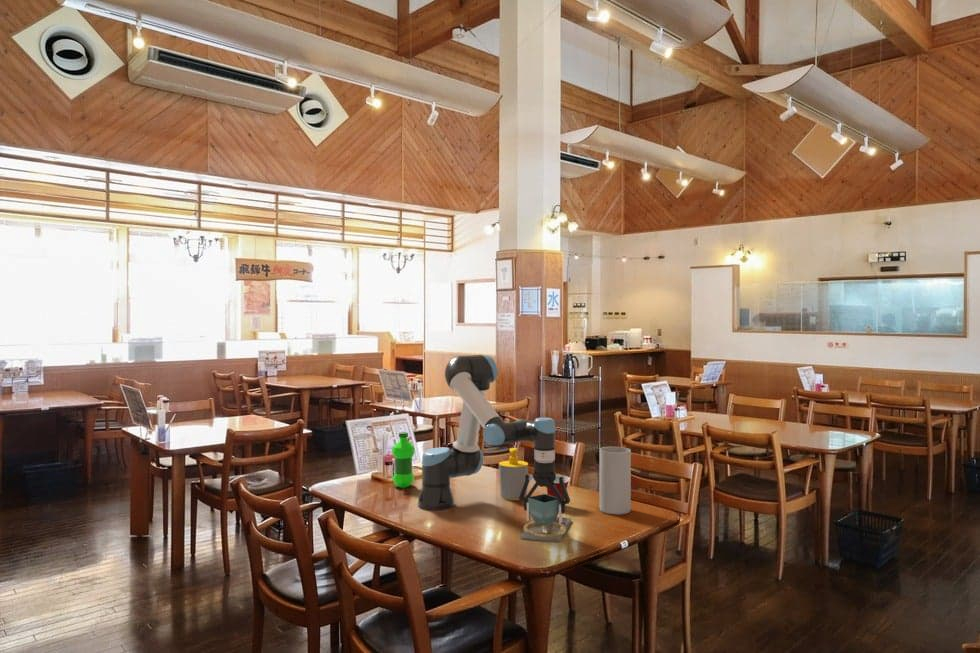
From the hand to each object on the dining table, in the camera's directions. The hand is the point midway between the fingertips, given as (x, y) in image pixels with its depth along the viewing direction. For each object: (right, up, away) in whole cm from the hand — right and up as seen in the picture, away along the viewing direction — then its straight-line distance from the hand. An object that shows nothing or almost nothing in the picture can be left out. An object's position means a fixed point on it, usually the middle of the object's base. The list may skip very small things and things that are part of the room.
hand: (544, 520), depth 234 cm
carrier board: (+1, -5, +4) cm, 6 cm away
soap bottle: (-9, -4, +50) cm, 51 cm away
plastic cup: (+8, -5, +35) cm, 36 cm away
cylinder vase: (+31, -5, +28) cm, 42 cm away
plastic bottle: (-60, -4, +68) cm, 91 cm away
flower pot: (0, -1, 0) cm, 1 cm away
